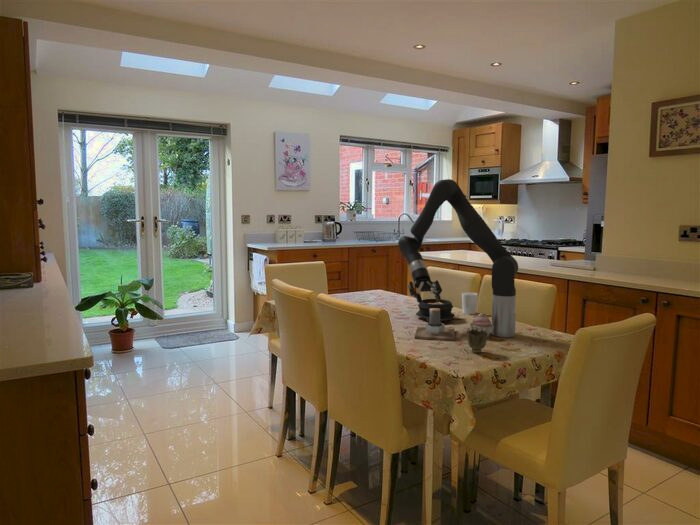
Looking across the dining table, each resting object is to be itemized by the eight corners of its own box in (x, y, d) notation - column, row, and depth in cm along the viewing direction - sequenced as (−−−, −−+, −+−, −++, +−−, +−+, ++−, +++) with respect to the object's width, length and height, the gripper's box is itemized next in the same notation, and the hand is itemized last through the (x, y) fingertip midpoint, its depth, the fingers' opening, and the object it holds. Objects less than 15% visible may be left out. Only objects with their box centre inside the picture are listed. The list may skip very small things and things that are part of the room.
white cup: (458, 312, 248) (458, 293, 247) (470, 310, 252) (471, 291, 250) (468, 315, 241) (468, 295, 240) (480, 313, 244) (481, 294, 243)
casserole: (462, 324, 223) (462, 306, 222) (422, 325, 222) (423, 307, 221) (446, 312, 248) (446, 296, 247) (410, 313, 246) (411, 297, 245)
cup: (464, 353, 178) (464, 332, 177) (469, 348, 185) (469, 328, 184) (484, 356, 175) (485, 335, 174) (488, 351, 181) (489, 330, 180)
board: (454, 331, 211) (454, 328, 211) (454, 340, 195) (454, 338, 195) (417, 329, 214) (417, 326, 214) (414, 338, 198) (414, 336, 198)
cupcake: (482, 340, 196) (483, 316, 195) (465, 335, 204) (465, 312, 203) (497, 336, 201) (498, 313, 200) (480, 332, 209) (480, 309, 208)
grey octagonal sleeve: (444, 330, 207) (444, 322, 207) (444, 335, 200) (444, 327, 200) (426, 329, 209) (426, 321, 209) (425, 334, 202) (425, 326, 201)
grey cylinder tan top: (440, 331, 206) (440, 308, 205) (440, 333, 202) (440, 310, 201) (429, 330, 207) (429, 308, 206) (429, 333, 203) (429, 310, 202)
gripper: (406, 267, 213) (417, 297, 203) (436, 266, 217) (447, 296, 207) (402, 277, 219) (412, 307, 209) (430, 276, 223) (441, 305, 213)
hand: (429, 301), depth 208 cm, fingers open, 8 cm apart
